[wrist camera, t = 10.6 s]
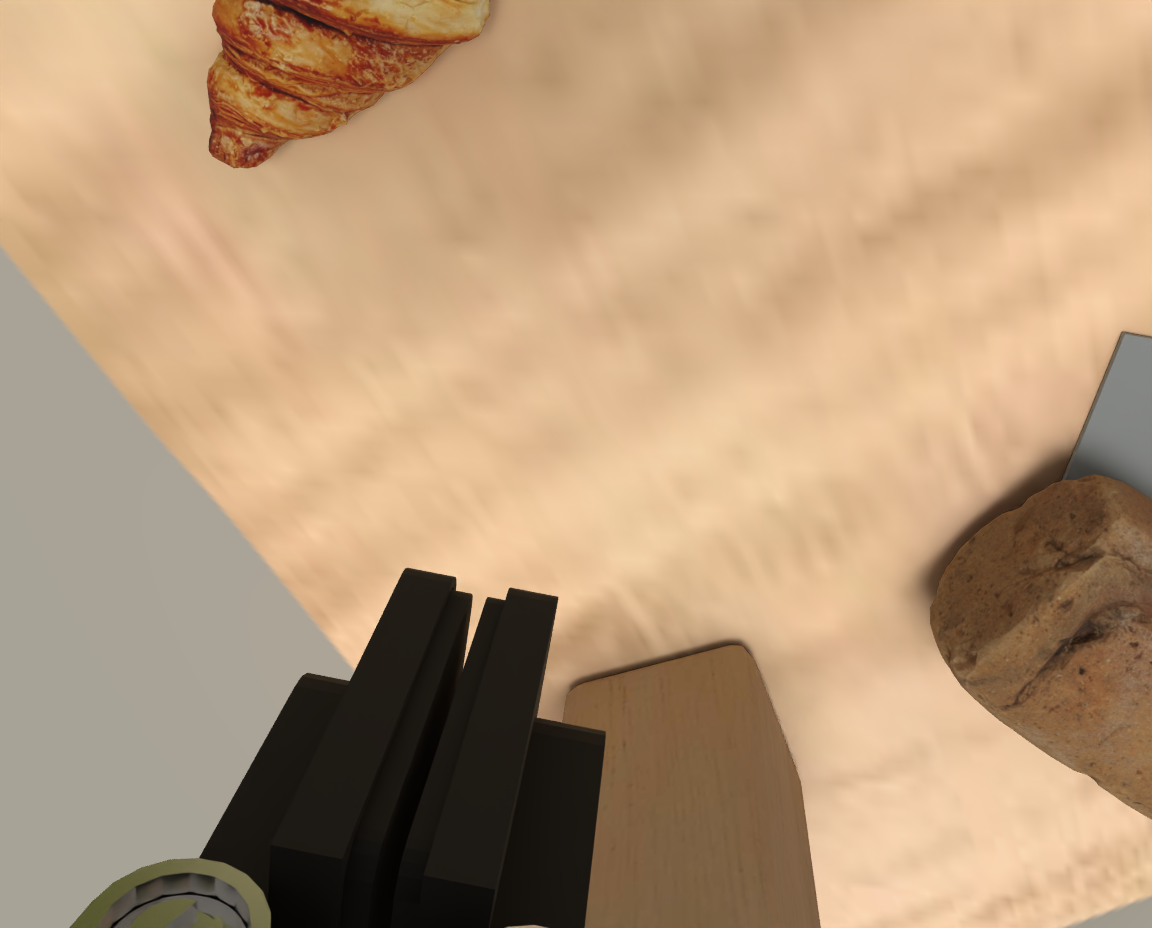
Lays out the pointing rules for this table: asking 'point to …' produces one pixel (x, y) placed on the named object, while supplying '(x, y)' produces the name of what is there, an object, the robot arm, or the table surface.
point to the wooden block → (695, 800)
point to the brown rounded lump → (1061, 628)
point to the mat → (1120, 420)
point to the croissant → (319, 64)
